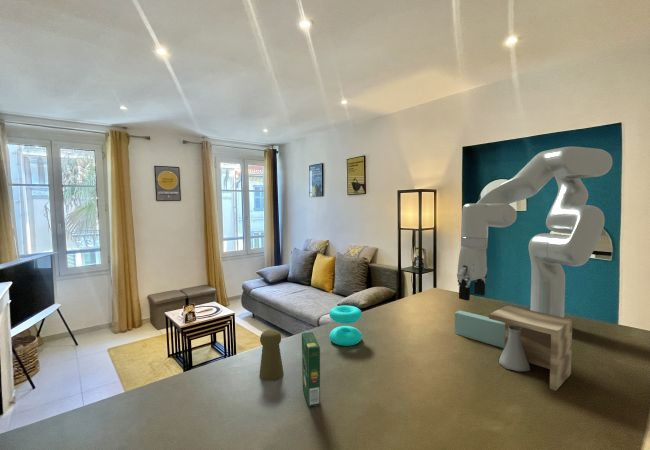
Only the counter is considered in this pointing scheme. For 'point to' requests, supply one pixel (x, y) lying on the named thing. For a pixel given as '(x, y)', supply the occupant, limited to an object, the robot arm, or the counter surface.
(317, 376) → the coffee box
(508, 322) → the wooden corner bracket
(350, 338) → the donuts
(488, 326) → the block
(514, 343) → the flask
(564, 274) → the robot arm
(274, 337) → the olive pawn
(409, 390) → the counter surface
